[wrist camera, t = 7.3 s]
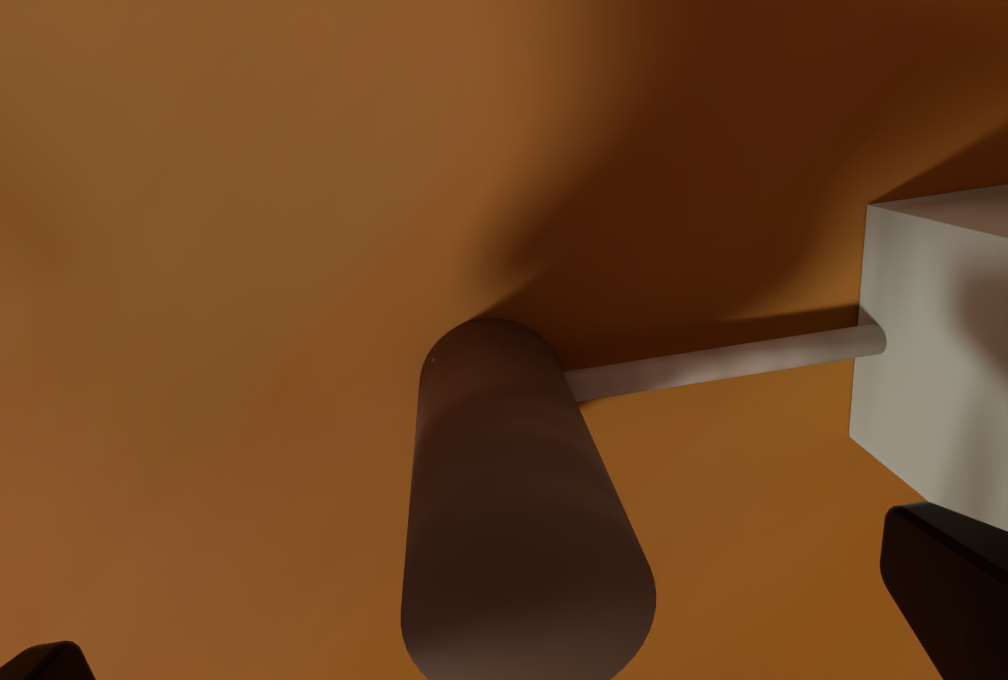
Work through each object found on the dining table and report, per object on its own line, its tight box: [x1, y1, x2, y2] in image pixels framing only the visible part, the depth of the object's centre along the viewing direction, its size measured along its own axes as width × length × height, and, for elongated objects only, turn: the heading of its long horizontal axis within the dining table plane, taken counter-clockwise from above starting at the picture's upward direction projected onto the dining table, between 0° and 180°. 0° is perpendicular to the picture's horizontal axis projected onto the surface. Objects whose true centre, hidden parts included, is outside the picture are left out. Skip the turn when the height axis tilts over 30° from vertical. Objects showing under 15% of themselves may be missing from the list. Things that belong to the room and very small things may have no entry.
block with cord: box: [401, 184, 1008, 680], centre depth 10 cm, size 14×5×6 cm, turn 97°
